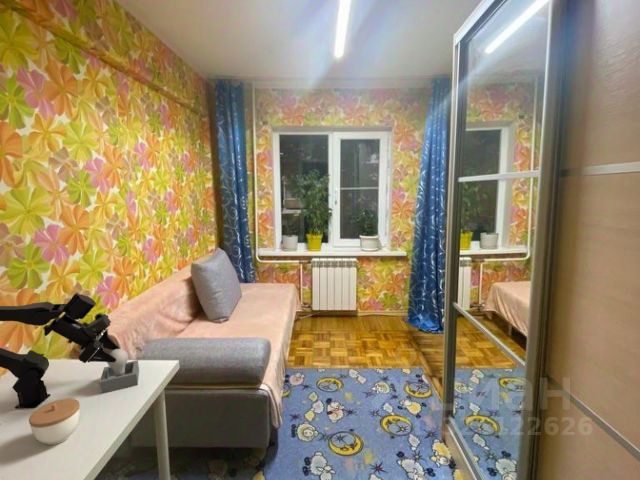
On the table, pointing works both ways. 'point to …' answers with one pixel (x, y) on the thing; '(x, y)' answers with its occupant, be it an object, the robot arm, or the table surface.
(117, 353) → the lightbulb
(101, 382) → the socket
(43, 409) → the lidded jar
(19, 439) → the table surface
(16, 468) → the table surface
